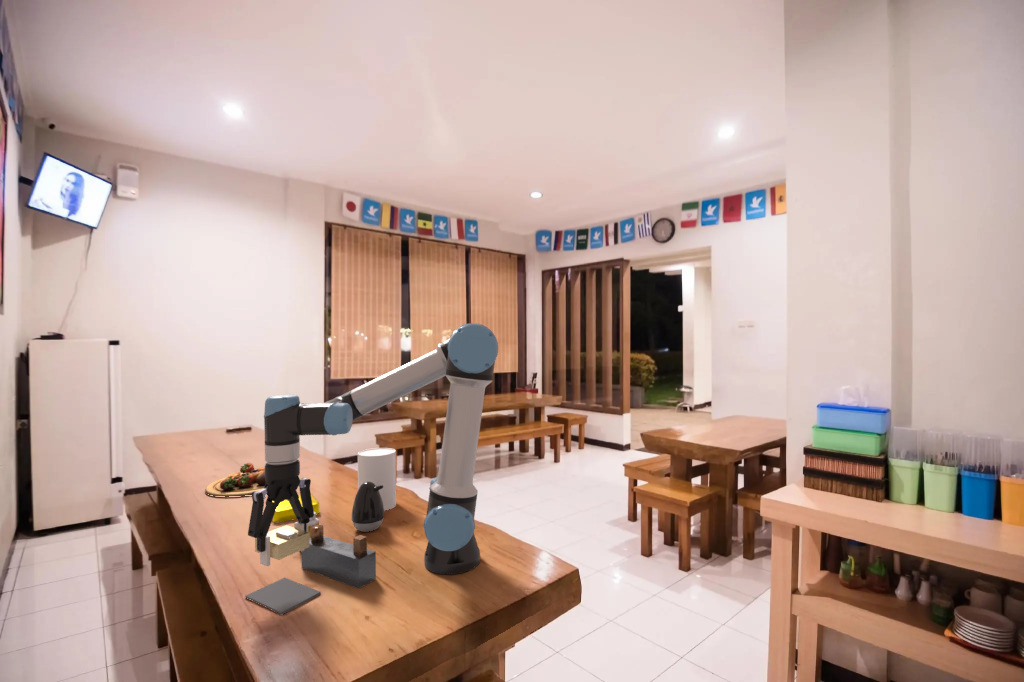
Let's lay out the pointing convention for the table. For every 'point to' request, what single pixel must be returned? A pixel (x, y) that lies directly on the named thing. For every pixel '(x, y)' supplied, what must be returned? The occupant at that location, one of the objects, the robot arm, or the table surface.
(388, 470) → the canister
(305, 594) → the rubber mat
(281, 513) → the element tile
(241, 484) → the wooden plate with food
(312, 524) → the supplement bottle
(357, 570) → the plane body
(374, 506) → the pump dispenser
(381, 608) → the table surface
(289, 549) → the lever cap
